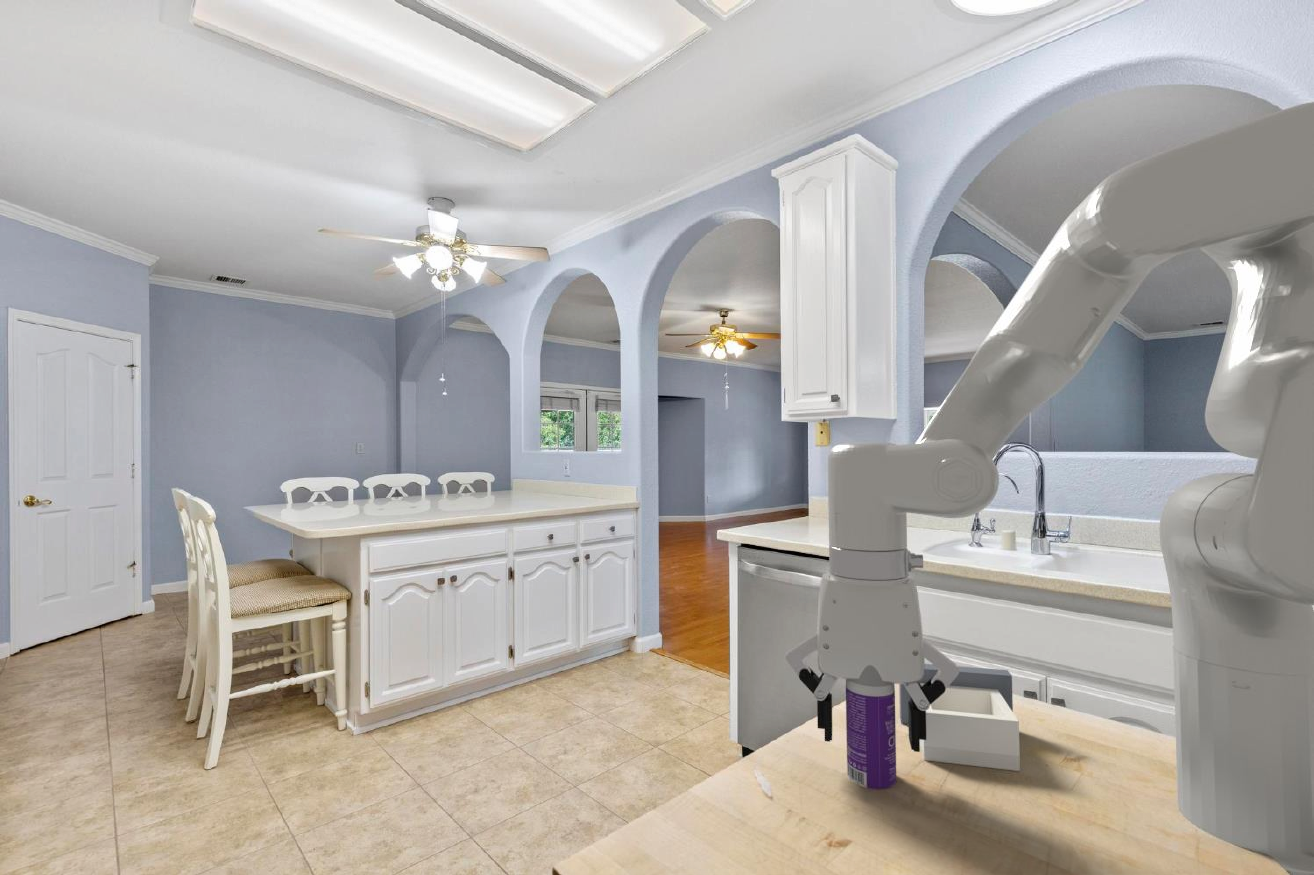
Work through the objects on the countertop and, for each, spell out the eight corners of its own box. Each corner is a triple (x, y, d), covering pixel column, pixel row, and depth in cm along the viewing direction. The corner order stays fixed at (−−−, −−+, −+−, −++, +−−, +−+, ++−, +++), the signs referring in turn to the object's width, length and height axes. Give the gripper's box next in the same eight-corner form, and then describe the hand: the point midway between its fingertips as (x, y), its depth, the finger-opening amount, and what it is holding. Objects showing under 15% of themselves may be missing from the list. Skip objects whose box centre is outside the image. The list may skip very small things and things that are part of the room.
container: (900, 804, 61) (897, 647, 61) (849, 799, 62) (847, 644, 62) (892, 780, 65) (889, 633, 66) (845, 775, 66) (842, 631, 67)
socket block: (998, 733, 73) (997, 689, 73) (1020, 771, 64) (1018, 721, 64) (914, 724, 75) (914, 682, 76) (924, 760, 67) (923, 712, 67)
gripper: (955, 561, 65) (958, 734, 65) (783, 555, 70) (785, 716, 70) (969, 575, 58) (973, 770, 58) (776, 567, 63) (779, 746, 62)
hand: (870, 739), depth 64 cm, fingers open, 7 cm apart
